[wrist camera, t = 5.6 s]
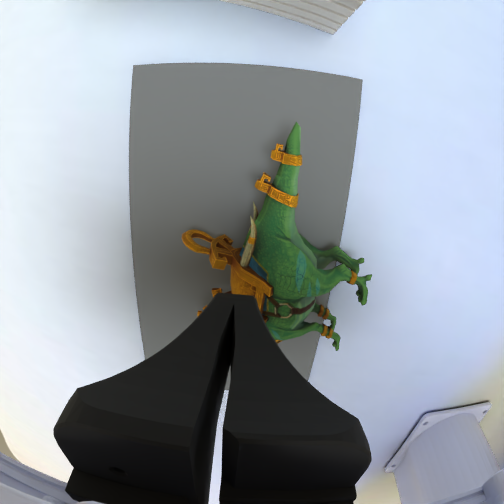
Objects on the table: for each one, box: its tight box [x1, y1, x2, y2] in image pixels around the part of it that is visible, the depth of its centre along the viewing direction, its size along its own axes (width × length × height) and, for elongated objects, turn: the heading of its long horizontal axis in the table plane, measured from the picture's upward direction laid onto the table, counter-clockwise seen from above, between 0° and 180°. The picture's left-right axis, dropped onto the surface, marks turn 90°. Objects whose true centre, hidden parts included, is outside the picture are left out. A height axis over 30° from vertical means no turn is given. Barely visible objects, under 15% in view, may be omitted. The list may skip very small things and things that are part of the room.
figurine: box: [182, 122, 372, 351], centre depth 14 cm, size 3×12×8 cm
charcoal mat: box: [129, 63, 362, 390], centre depth 16 cm, size 18×10×1 cm, turn 175°
